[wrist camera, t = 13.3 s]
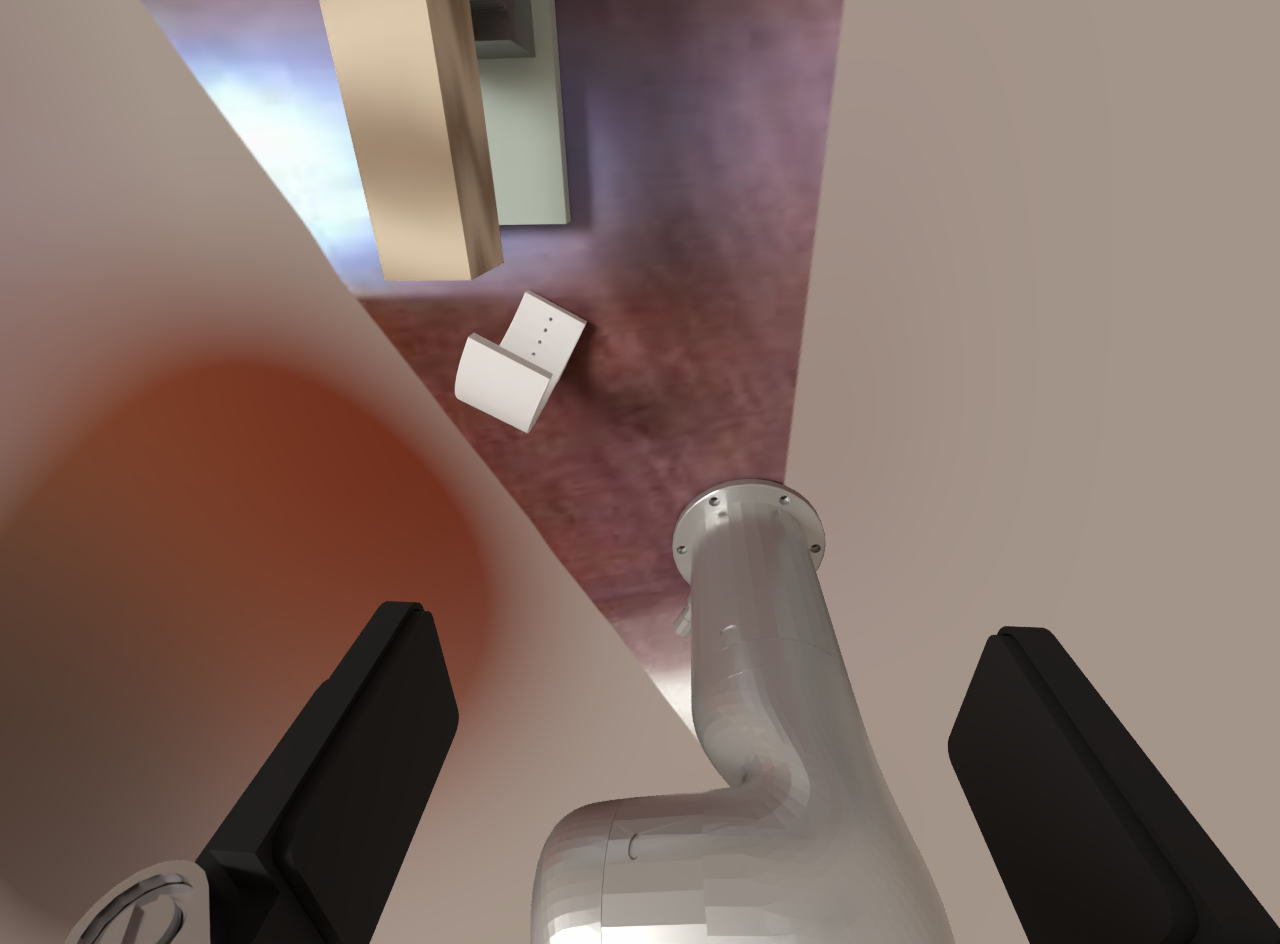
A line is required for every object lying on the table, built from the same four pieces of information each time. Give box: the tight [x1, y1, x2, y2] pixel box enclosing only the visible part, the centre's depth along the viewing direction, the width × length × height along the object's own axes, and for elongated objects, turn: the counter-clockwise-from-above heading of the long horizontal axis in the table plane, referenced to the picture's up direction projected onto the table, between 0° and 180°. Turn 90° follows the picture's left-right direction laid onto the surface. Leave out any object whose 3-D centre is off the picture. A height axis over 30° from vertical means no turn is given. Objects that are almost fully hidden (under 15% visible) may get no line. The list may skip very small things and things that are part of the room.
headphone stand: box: [455, 290, 587, 433], centre depth 35 cm, size 5×6×12 cm
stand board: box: [477, 0, 571, 225], centre depth 30 cm, size 22×8×2 cm, turn 1°
